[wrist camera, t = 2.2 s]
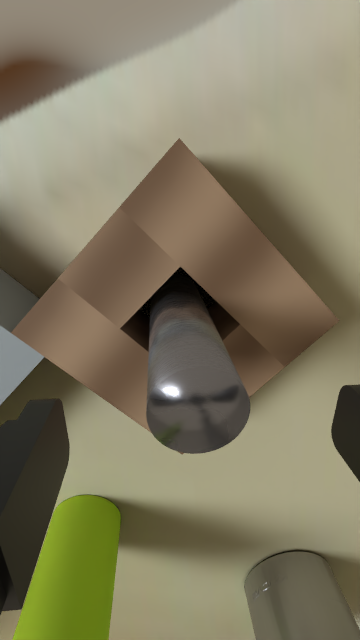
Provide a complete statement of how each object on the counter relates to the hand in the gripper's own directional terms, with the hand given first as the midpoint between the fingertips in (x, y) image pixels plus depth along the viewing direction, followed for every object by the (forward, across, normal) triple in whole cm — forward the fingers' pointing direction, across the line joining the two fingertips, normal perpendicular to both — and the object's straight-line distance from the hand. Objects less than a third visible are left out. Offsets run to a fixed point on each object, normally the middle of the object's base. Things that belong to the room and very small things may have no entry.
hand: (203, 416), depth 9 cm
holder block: (+12, 0, 0) cm, 13 cm away
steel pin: (+12, 0, 0) cm, 13 cm away
